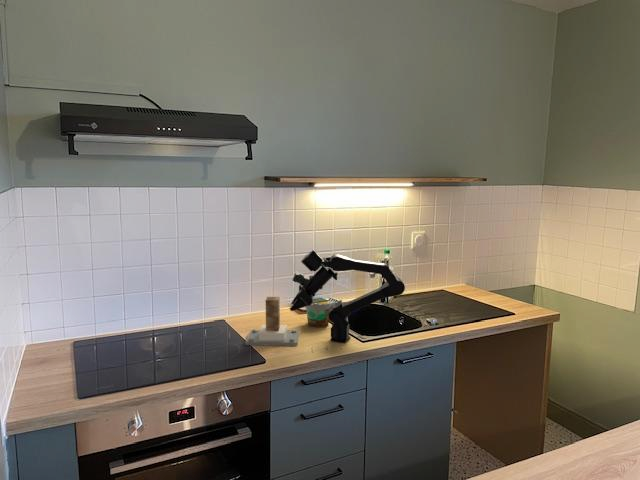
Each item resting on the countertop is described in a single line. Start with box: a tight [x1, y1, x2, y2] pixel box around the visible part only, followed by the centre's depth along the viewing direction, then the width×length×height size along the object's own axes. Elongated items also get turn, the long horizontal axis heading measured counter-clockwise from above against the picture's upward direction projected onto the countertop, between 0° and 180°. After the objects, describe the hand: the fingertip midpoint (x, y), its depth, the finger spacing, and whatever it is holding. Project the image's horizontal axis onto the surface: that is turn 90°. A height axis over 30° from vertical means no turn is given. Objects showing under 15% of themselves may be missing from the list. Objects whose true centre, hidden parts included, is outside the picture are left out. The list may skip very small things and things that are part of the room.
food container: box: [304, 302, 332, 328], centre depth 215 cm, size 12×6×10 cm, turn 62°
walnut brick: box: [265, 296, 281, 331], centre depth 197 cm, size 5×5×12 cm
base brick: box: [244, 324, 300, 346], centre depth 199 cm, size 20×14×4 cm
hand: (291, 306), depth 197 cm, fingers open, 9 cm apart
